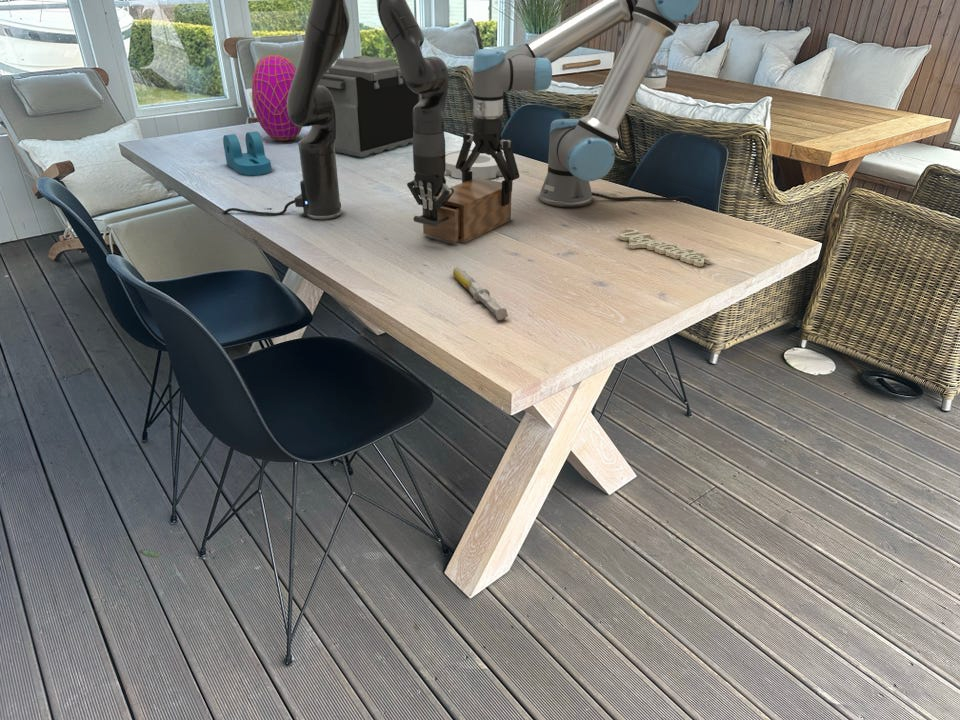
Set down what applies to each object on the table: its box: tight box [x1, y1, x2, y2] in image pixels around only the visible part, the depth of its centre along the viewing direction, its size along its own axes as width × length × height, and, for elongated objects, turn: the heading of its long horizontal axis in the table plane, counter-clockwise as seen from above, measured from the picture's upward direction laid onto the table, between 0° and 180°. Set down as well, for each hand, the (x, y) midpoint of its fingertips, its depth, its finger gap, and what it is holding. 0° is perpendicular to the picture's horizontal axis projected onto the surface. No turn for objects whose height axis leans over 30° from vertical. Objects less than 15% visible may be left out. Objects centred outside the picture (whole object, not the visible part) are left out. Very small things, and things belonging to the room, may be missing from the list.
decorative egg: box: [251, 54, 303, 142], centre depth 257 cm, size 19×19×30 cm
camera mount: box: [222, 131, 272, 176], centre depth 226 cm, size 18×10×10 cm, turn 35°
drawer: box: [412, 204, 461, 243], centre depth 175 cm, size 26×10×8 cm, turn 145°
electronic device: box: [318, 55, 421, 159], centre depth 250 cm, size 37×22×30 cm, turn 144°
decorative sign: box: [618, 227, 711, 267], centre depth 169 cm, size 26×1×10 cm
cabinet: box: [440, 177, 512, 244], centre depth 180 cm, size 22×12×10 cm, turn 145°
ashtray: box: [444, 148, 506, 180], centre depth 230 cm, size 23×23×4 cm
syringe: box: [452, 266, 509, 321], centre depth 145 cm, size 25×4×3 cm, turn 21°
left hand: (431, 223), depth 168 cm, fingers closed
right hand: (486, 200), depth 185 cm, fingers closed on cabinet, 11 cm apart
